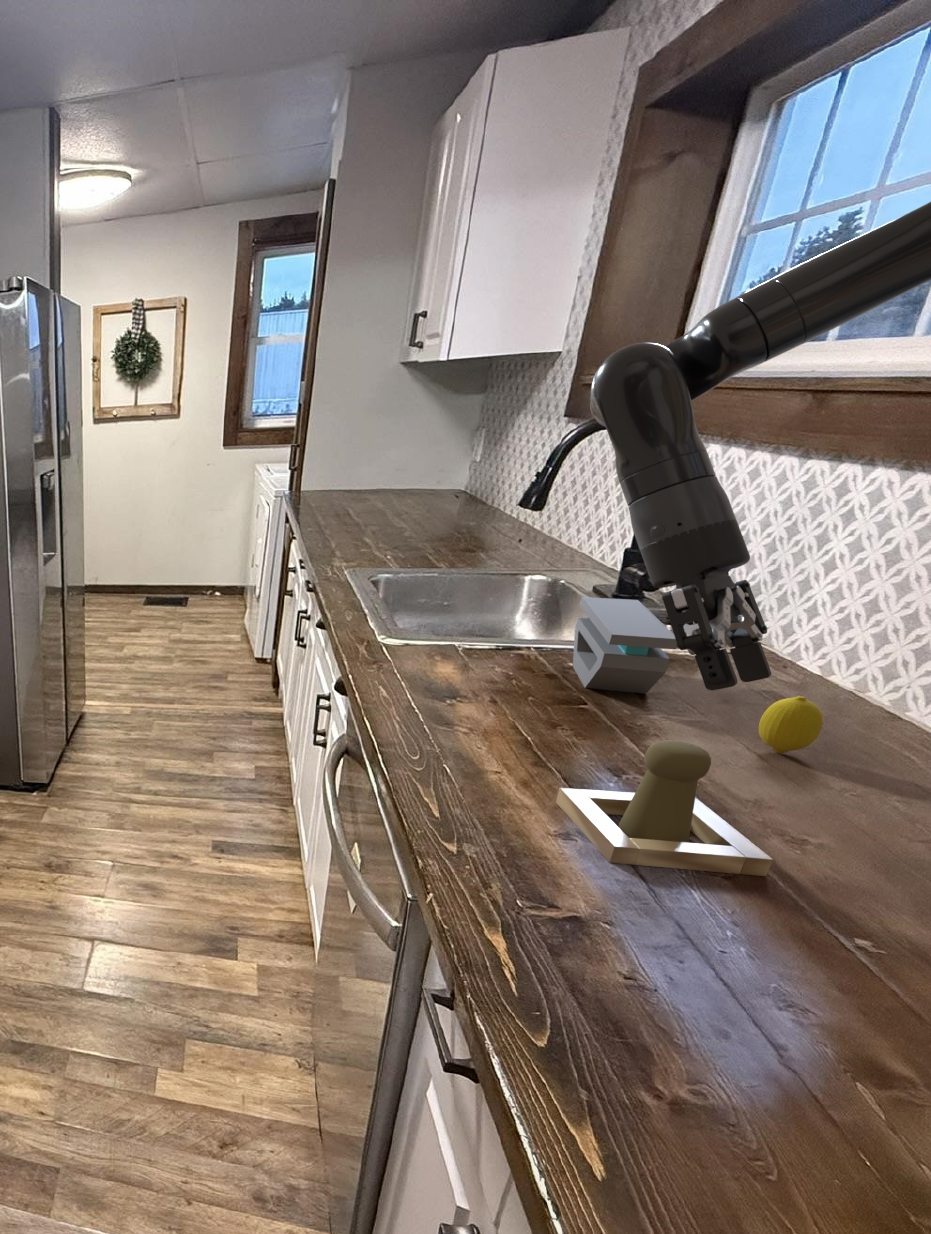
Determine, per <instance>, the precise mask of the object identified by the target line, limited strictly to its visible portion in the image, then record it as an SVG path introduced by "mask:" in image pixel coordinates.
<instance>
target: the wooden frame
mask: <svg viewBox="0 0 931 1234" xmlns="http://www.w3.org/2000/svg"><path fill="white" fill-rule="evenodd" d="M634 794H635V792H628V791H616V790H615V791H613V790H601V789H600V790H599V789H585V788H569V787H559V790H558V792H557V797H556V801H555V804H556V805H557V806H559V807H560V809H561V810H562V811H563V812H564V813H565V815H567V817H568V818H569V819H570V820H571V821H572V822H573V824H574V825H575V826H576V827H577V828H578V829H579V830H580V831H581V832H582V834H583V835H584V836H585V837H586V838H587V839H588V840H589V842H590V843H591V844H592V845H593V846H594V847H595V848H596V849H597V850H598V851H599V853H600V854H601V855H602V856H603V858H605V859H606V860H607V862H608V863H610V864H621V865H629V866H630V865H634V866H641V867H642V866H644V867H654V868H665V869H666V868H667V869H678V870H692V871H700V872H701V871H702V872H712V873H723V874H735V875H745V876H758V877H767V876H768V874H769V871H770V869H771V866H772V864H773V861H774V859H773V858H772V857H770V855H768V854H767V853H766V852H764V851H763V850H762V849H760V847H758V846H757V845H756V844H754V843H753V842H752V841H750V840H749V839H748V838H747V837H746V836H744V835H743V834H742V833H741V832H740V831H738V830H737V829H736V828H735V827H733V826H732V825H731V824H729V823H728V822H727V821H726V820H724V819H723V818H722V817H721V816H719V815H718V814H717V813H715V812H714V811H713V810H712V809H711V808H709V807H708V806H707V805H706V804H705V803H703V802H702V801H701V800H699V799H698V798H697V797H696V796H695V803H694V809H693V816H692V822H691V829H690V832H691V833H692V834H694V835H695V836H696V837H697V838H698V839H699V840H701V841H702V842H703V843H699V842H688V843H687V842H674V841H662V840H649V839H637V838H629V837H628V836H627V835H626V834H625V833H624V832H623V831H622V830H621V829H620V828H619V827H618V825H617V824H616V823H615V822H614V821H613V820H612V819H611V818H610V817H609V816H608V815H613V816H623V815H624V813H625V811H626V810H627V808H628V806H629V804H630V802H631V800H632V798H633V796H634Z"/></svg>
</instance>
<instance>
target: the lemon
mask: <svg viewBox="0 0 931 1234" xmlns="http://www.w3.org/2000/svg"><path fill="white" fill-rule="evenodd" d="M823 720H824V718H823V713H822V710H821V709H820V707H818V705H817V704H815V703H814V702H813V701H810V700H808V699H806V697H805V696H801V695H797V696H795V697H787V698H783V699H780V700H779V699H778V700H777V701H775V702H773V703H772V704H771V705H769V707H767V708H766V709H765V711H764V712H763V714H762V716H761V718H760V720H759V723H758V724H759V725H758V735H759V737H760V739H761V740H762V741H763V743H765V744H766V745H767V746H769V747H771V748H772V749H773V750H774V752H775V753H777V754H785V753H786V752H787V753H788V752H792V751H799V750H801V749H804V748H807V747H809V746H810V745H812V744H813V743H814V742H815V741H816V740H817V738H818V737H819V736H820V733H821V731H822V727H823Z"/></svg>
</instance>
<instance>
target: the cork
mask: <svg viewBox="0 0 931 1234" xmlns="http://www.w3.org/2000/svg"><path fill="white" fill-rule="evenodd" d="M643 761H644V765H645V767H646V769H647V770H646V771H645V774H644V775H643V777H642V779H641V781H640V783H639V785H638V787H637V789H636V791H635V792H634V793H635V794H634V796H633V798H632V800H631V802H630V804H629V806H628V808H627V810H626V811H625V813H624V815H622V816H621V819H620V821H619V823H618V825H617V826H618V827H619V828H620V829H621V830H622V831H623V832H624V833H625V834H626V835H627V836H628V837H629V838H637V839H649V840H662V841H674V842H687V843H690V842H689V841H690V836H691V831H690V829H691V822H692V816H693V809H694V803H695V797H696V796H697V788H698V784H699V783H698V782H699V780H700V779H702V778H704V777H705V776H706V775H707V773H708V772H709V770H710V768H711V765H712V758H711V755H710V754H709V752H708V751H707V750H706V749H704V748H703V747H701V746H699V745H696V744H693V743H691V742H686V741H682V740H673V739H672V740H671V739H670V740H669V739H666V740H658V741H655V742H653V743H652V744H650V746H649V747H648V748H647V750H646V751H645V754H644V760H643Z"/></svg>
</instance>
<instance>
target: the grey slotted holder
mask: <svg viewBox="0 0 931 1234" xmlns="http://www.w3.org/2000/svg"><path fill="white" fill-rule="evenodd" d="M579 607H580V608H581V610H582V611H583V613H584V614H585V615H586V616H578V617H577V620H576V623H575V627H574V640H573V657H572V668H573V670H574V671H575V673H576V675H577V677H578V678H579V680H580V682H581V684H582V686H583V687H584V688H585V689H593V690H604V691H614V692H626V693H633V694H634V693H635V694H642V695H643V694H644V695H646V694H647V693H648V692H649V691H650V690H652V688H653V687H654V686H655V685H656V684H657V683H658V682H659V681H660V680H661V679H662V678H663V676H664V675H666V674H667V670H668V667H669V664H670V661H671V658H670V657H669V655H667V653H666V652H665V651H664V650H663V649H665V650H677V648H678V646H677V642H676V639H675V636H674V633H673V631H671V630H670V629H669V628H668V627H667V626H666V625H665V624H664V623H663V622H662V621H660V619H659V618H657V616H655V614H653V612H651V611H650V610H649V609H648V608H647V607H646V606H645V605H644V604H643V603H642V602H641V601H640V600H639V599H627V598H626V599H625V598H609V597H608V598H606V597H589V596H581V599H580V602H579Z"/></svg>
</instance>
